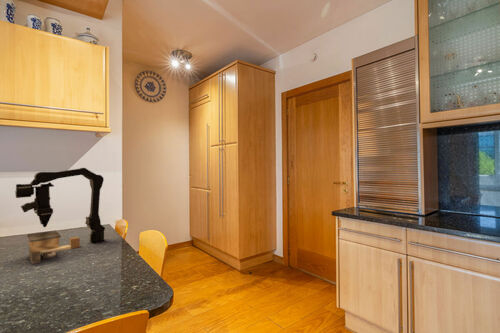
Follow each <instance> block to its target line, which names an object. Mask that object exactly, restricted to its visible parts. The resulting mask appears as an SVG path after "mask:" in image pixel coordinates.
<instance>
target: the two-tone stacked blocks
mask: <svg viewBox="0 0 500 333" xmlns="http://www.w3.org/2000/svg"><path fill="white" fill-rule="evenodd" d="M80 241H81V238H80V237H79V236H74V237H69V241H68V242H69V244H67V245H61V246H60V245H59V248H55V249H50V250H56V253H57V252H62V251H67V250H72V249H76V248H80V247H81V246H80V245H81V242H80ZM45 251H49V250H44V251H40V256H41V255H42V256H43V252H45Z"/></svg>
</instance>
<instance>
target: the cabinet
mask: <svg viewBox="0 0 500 333" xmlns="http://www.w3.org/2000/svg"><path fill="white" fill-rule="evenodd" d="M61 236H62V235H61V234H60V233H59V232H58V231H56V230H50V231H49V230H48V231H43V232H42V231H41V232H36V233H29V234H27V238H28V258H29V261H30V263H31V264H32V265H33V264H37V263H41V254H40V251H44V250H50V249H55V248H59V247H60V238H61Z"/></svg>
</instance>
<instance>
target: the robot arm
mask: <svg viewBox="0 0 500 333" xmlns="http://www.w3.org/2000/svg"><path fill="white" fill-rule="evenodd" d="M77 176H83V177H84V178H85V179H87V180H88V181H89V186H90V189H91V194H90V207H89V209H90V211H89V215H88V216H85V222H84V224H85V225H86V227H87V228H89V229H90V234H89V243H91V244H96V243H102V242H106V239H105V231H106V227H104V225H102V222H101V217H100V214H99V212H100V211H99V210H100V199H101V198H100V196H101V190H102V189H101V188H102V187H103V184H104V176H102V175H101V174H96V173H95V172H93V171H90V170H89V169H88V168H86V167H80V168H75V169H67V170H60V171H39V172H37V173H36V172H35V174H34V178H33V180H32V181H31V182H30V183H24V184H23V183H22V184H20V183H19V184H18V183H16V184H15V199H20V198H31V197H32V196H34V195H35V198H34V199H33V201H31V202H26V203H24V204H23V205H21V206H20V208H21V209H22V212H23V213H27V212H28V211H31V210H33V211H34V214H36V216H37V217H38V219H39V222H40V225H42V227H43V228H47V226H48V224H49V222H50V220H51V217H52V215H53V213H54V209H53V208H52V207H51V196H50V188H52V187H55V185H54V184H53V183H51V182H53V181H54V180H58V179H64V178H71V177H77ZM34 189H35V190H34Z"/></svg>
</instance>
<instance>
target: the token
mask: <svg viewBox="0 0 500 333" xmlns="http://www.w3.org/2000/svg"><path fill="white" fill-rule="evenodd" d="M56 254H57V252H56V250H49V251H45V252H43V255H42V259H51V258H52V259H53V258H54V257H56V256H57V255H56Z"/></svg>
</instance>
